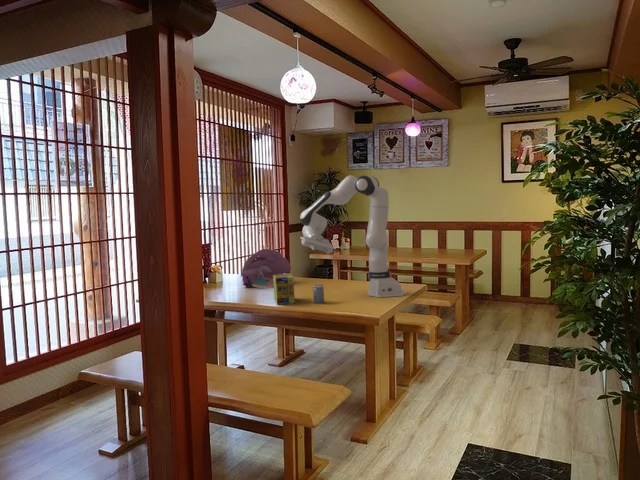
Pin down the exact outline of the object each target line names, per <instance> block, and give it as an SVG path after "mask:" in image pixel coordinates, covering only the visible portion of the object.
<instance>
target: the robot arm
mask: <svg viewBox="0 0 640 480" xmlns="http://www.w3.org/2000/svg"><path fill="white" fill-rule="evenodd" d="M357 192H358V193H359V194H362V195H364V196H367V197H369V199H370V201H369V203H370V204H369V216H368V223H367V229H366V236H365V244H366V246H367V247H368V248H369V254H368V281H369V284H368V291H367V296H368V297H369V296H370V297H375V298H391V297H403V296H406V291H405V290H403V289H402V285H401V283H400V282H399V281H397V280H396V279H395V278H393V277H392V276H393V272H392V271H390V270H388V269H389V267H388V254H389V250H388V249H389V235H388V233H387V232H386V231H387V225H388V221H389V208H390V200H389V198H390V197H389V192H388V190H387V189H386V188H384V187H380V182H379V180H378V179H377V177H375V176H372V175H367V174H365V175H364V174H363V175H360V176H358V177H356V176H355V175H351V174H350V175H347V176H345V178H344V179H343V180H341V181H340V182H339V184H338V185H337V186H336V187H335V188H334V189H331V190H330V191H325V192H324V193H323V194H322V195H320V196H319V197H318V198H317V199H316V200H314V202H313V203H311V204H310V205H309V206H308V207H307V208H306V209H304V210H302V212H301V213H300V215H299V220H300V223H301V225H303V227H302V229H301V230H302V236H300V237H299V239H300V240H301V241H300V242H301V245H302V246H304V247H307V248H310V249H311V250H312V251H315V250H318V251H321V252H324V253H325V254H327V255H329V254H332V253H333V251H334V249H335V248H334V245H332V243H331V242H330V240H329V239H328V238H326V237H324V236H322V235H323V234H324V233H325V232H326V231H327V229H328V226H329V223H328V219H327V218H325V217H324V216H322V215H320V214H319V213H317V212H318V211H319V210H320V209H321V208H323V206H325V205H337V206H343V205H346V204H347V203H348V202H349V201H350V200H351V199H352V198H353V196H354V195H355V194H356V193H357Z"/></svg>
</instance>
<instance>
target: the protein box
mask: <svg viewBox="0 0 640 480" xmlns="http://www.w3.org/2000/svg"><path fill="white" fill-rule="evenodd" d="M273 282H274V286H273V296H274V301H275V303H276V305H277V306H280V305H291V304H296V302H295V300H296V298H295V296H296V295H295V281H294V276H293V275H292V274H291V273H287V274H286V273H283V274H275V275H273Z"/></svg>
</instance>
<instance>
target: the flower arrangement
mask: <svg viewBox="0 0 640 480" xmlns="http://www.w3.org/2000/svg"><path fill="white" fill-rule="evenodd" d="M291 269H292V267H291V264H290V261H289V260H288V259H287V258H286V257H284V256H283V254H282V253H281V252H279V251H277V250H275V249H269V248H263V249H260V250H258V251H256V252H254V253H253V254H251V255H250V256H249V257H248V258H247V259H246V261H245V262H244V265H243V267H242V270H241V274H240V277H242V285H243V286H245V287H255V288H259V289H266V288H267V289H268V288H272V287H273V288H274V282H273V275H275V274H290V273H291Z"/></svg>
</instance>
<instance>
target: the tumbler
mask: <svg viewBox="0 0 640 480" xmlns="http://www.w3.org/2000/svg"><path fill="white" fill-rule="evenodd" d="M324 287H325V285H324V284H313V285H312V294H313V295H312V296H313V304H315V305H320V304H324V303H325V294H324V293H325V291H324Z"/></svg>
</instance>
